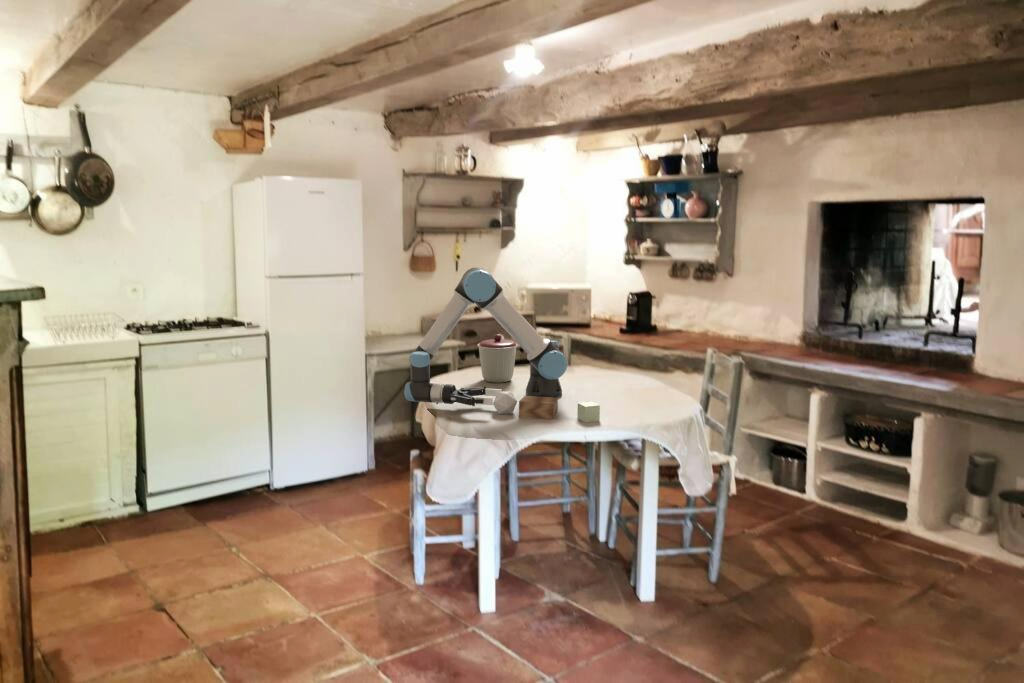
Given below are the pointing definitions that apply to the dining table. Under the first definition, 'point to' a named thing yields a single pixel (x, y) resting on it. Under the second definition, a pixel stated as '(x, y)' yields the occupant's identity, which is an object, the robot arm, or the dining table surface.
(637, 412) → the dining table surface
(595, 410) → the green cube
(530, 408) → the plinth
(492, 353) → the canister
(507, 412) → the die
